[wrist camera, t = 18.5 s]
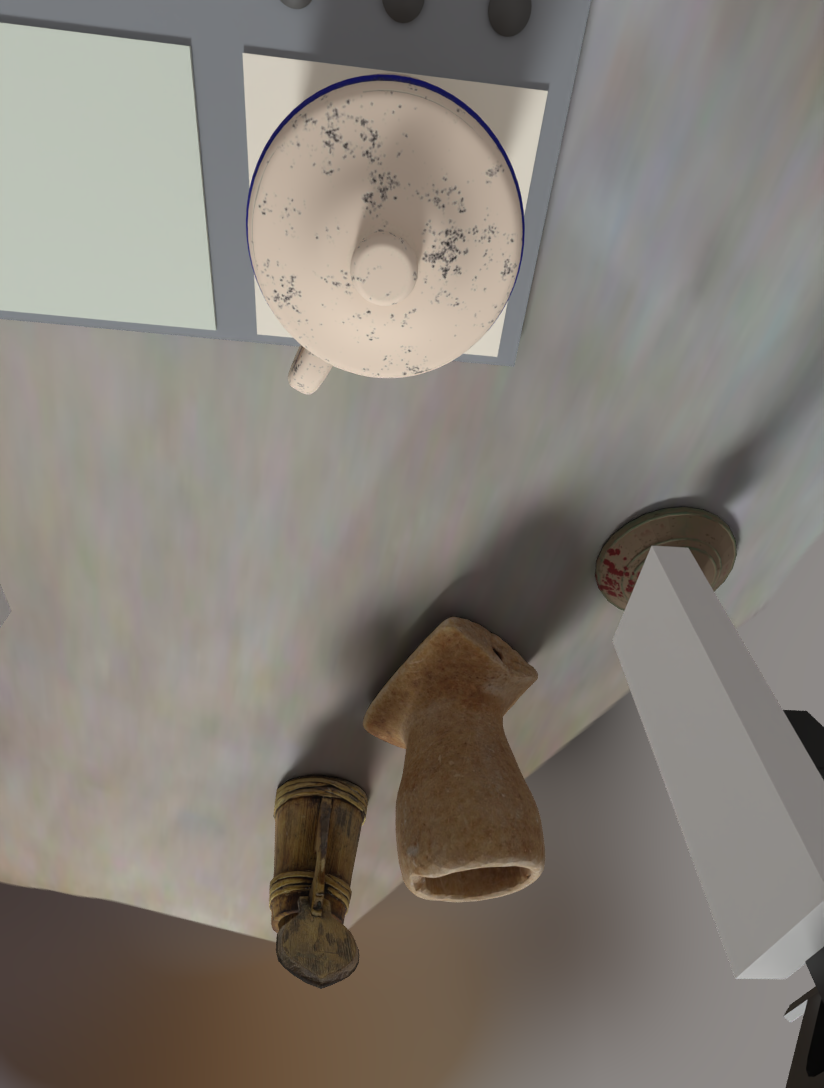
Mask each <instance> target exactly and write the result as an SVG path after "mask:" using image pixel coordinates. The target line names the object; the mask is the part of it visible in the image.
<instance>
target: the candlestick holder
mask: <svg viewBox="0 0 824 1088" xmlns="http://www.w3.org/2000/svg"><path fill="white" fill-rule="evenodd" d="M651 546H668V547H684V548H689V550H690V551H691V553H692V555H693V556H694V558H695V560H696V562H697V563H698V565H699V567H700V569H701V570H702V572H703V574H704V575H705V577H706V579H707V581H708V582H709V584H710V586H711V587H712V589H713V591H715V590H716V589H717V588H718V587H719V586H720V585H721V584H722V583H723V582H724V581H725V580H726V578H727V577H728V575H729V574H730V572H731V570H732V569H733V566H734V562H735V559H736V555H737V553H736V541H735V538H734V536H733V534H732V532H731V530H730V528H729V526H728V525H727V524H726V523H725V522H724V521H722V520H721V519H720V518H719V517H718V516H716V515H714V514H712V513H709V512H707V511H704V510H702V509H696V508H688V507H677V508H665V509H661V510H658V511H654V512H651V513H647V514H645V515H643V516H641V517H639V518H637V519H635V520H633V521H631V522H629V523H627V524H626V525H625V526H624V527H622V528H621V529H620V530H618V531H617V532H616V533H615V534H613V536H612V537H611V538H610V539H609V540H608V542H607V543H606V544H605V545H604V547H603V548H602V550H601V553H600V555H599V557H598V559H597V563H596V572H595V577H596V581H597V585H598V588H599V590H600V591H601V592H602V594H603V595H604V596H605V598H606V599H607V601H609V602H610V603H611V604H613V605H614V606H616V607H617V608H619V609H621V610H624V611H625V609H626V606H627V604H628V601H629V599H630V596H631V594H632V592H633V589H634V587H635V584H636V582H637V580H638V577H639V575H640V572H641V570H642V567H643V565H644V563H645V560H646V558H647V555H648V553H649V551H650V548H651Z"/></svg>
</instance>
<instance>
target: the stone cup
mask: <svg viewBox="0 0 824 1088" xmlns="http://www.w3.org/2000/svg"><path fill="white" fill-rule="evenodd" d="M537 679H538V673H537V671H536V670H535V669H534V668H533V667H532V666H531V665H529V664H528V663H527V662H526V661H525V660H524V659H523V658H522V657H521V656H520V655H519V653H518V652H517V651H516V650H513V649H512V648H511V647H510V646H509V645H508V644H507V643H506V642H504V641H503V640H502V639H501V638H500V637H499V636H497V635H495V634H493V633H490V632H489V631H488V630H487V629H485V628H484V627H482V626H481V625H479V624H477V623H474V622H471V621H470V620H467V619H462V618H458V617H450V618H448V619H446V620H444V621H443V622H442V623H441V624H440V625H439V626H438V627H437V628H436V629H435V630H434V631H433V632H432V633H431V634H430V635H429V636H428V637H427V638H426V639H425V640H424V641H423V642H422V643H421V644H420V645H419V646H418V648H417V649H416V650H415V651H414V652H413V653H412V654H411V656H410V657H409V658H408V659H407V660H406V661H405V662H404V664H403V665H402V666H401V667H400V668H399V669H398V670H397V671H396V673H395V674H394V675H393V676H392V677H391V678H390V680H389V681H388V682H387V683H386V684H385V686H384V687H383V688H382V690H381V691H380V692H379V694H378V695H377V696H376V698H375V699H374V700H373V702H372V703H371V705H370V706H369V708H368V710H367V712H366V714H365V716H364V720H363V726H364V728H365V729H366V731H367V732H368V733H370V734H372V735H374V736H376V737H378V738H380V739H382V740H384V741H386V742H388V743H390V744H393V745H395V746H398V747H401V748H404V749H406V755H405V762H404V769H403V775H402V779H401V783H400V787H399V791H398V795H397V800H396V841H397V851H398V859H399V864H400V869H401V873H402V877H403V880H404V882H405V884H406V886H407V887H408V889H409V890H410V891H411V892H412V893H414V894H415V895H416V896H418V897H421V898H424V899H427V900H440V901H447V902H465V901H479V900H485V899H491V898H497V897H501V896H505V895H508V894H511V893H514V892H516V891H519V890H521V889H523V888H525V887H526V886H528V885H530V884H531V883H533V882H534V881H535V880H537V878H538V877H539V876H540V875H541V873H542V871H543V869H544V864H545V846H544V838H543V831H542V825H541V819H540V815H539V811H538V808H537V806H536V803H535V800H534V798H533V796H532V793H531V791H530V790H529V788H528V786H527V784H526V782H525V780H524V778H523V776H522V774H521V772H520V769H519V767H518V765H517V762H516V760H515V757H514V755H513V753H512V750H511V748H510V746H509V744H508V741H507V739H506V736H505V733H504V729H503V716H504V715H505V714H506V712H507V711H508V710H509V709H510V708H511V707H512V706H513V705H514V704H515V702H516V701H517V700H518V699H519V697H520V696H521V695H522V694H523V693H524V692H525V691H526V690H527V689H528V688H529V687H530V686H531V685H532V684H533V683H534V682H535V681H536V680H537Z"/></svg>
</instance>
